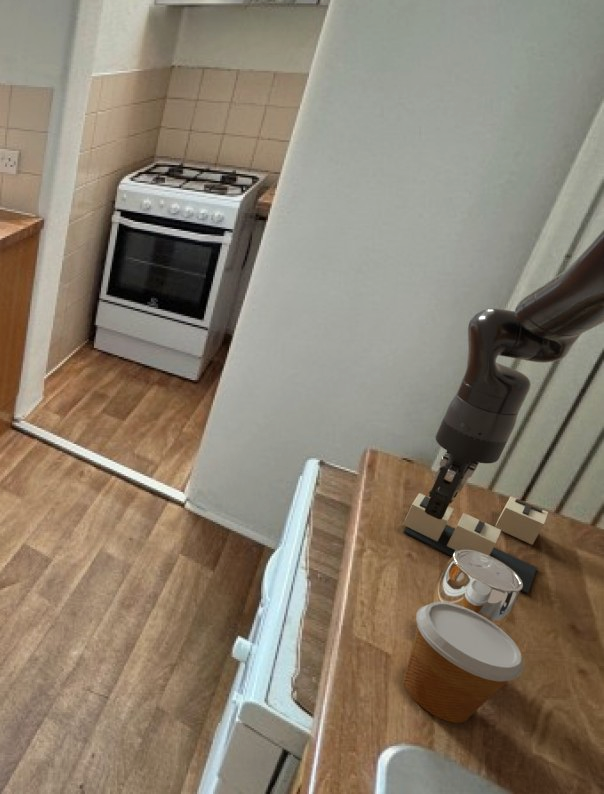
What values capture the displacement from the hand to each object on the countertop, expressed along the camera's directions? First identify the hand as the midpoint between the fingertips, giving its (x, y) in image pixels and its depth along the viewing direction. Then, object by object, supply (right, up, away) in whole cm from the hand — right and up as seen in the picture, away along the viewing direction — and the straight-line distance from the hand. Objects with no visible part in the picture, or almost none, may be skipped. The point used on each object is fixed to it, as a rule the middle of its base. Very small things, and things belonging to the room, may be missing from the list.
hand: (440, 504), depth 102 cm
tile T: (+16, -5, +2) cm, 17 cm away
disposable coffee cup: (-25, -15, -24) cm, 38 cm away
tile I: (+3, -6, -2) cm, 7 cm away
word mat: (+3, -7, -2) cm, 8 cm away
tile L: (-1, -5, +2) cm, 5 cm away
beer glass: (-17, -13, -18) cm, 28 cm away
